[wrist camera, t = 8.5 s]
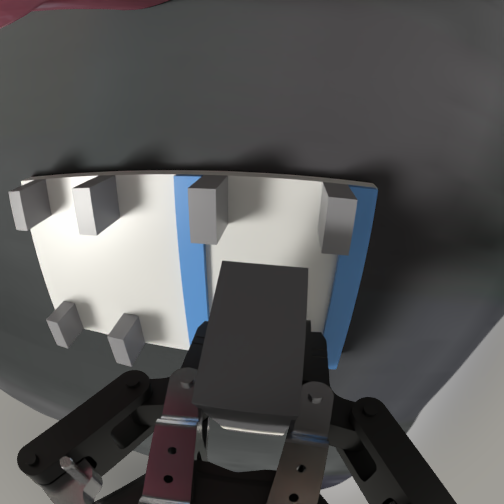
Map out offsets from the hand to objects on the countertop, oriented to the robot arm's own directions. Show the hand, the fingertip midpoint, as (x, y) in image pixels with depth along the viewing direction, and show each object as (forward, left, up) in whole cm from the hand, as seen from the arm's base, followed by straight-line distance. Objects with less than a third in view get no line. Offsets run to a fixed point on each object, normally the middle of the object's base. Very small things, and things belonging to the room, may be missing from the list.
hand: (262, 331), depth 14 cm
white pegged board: (0, -6, -5) cm, 8 cm away
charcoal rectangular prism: (0, 0, -1) cm, 1 cm away
